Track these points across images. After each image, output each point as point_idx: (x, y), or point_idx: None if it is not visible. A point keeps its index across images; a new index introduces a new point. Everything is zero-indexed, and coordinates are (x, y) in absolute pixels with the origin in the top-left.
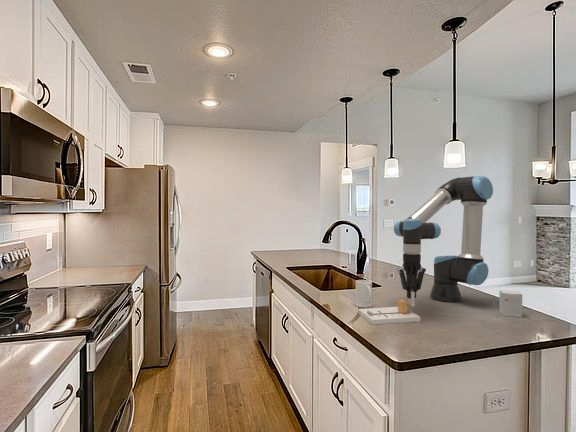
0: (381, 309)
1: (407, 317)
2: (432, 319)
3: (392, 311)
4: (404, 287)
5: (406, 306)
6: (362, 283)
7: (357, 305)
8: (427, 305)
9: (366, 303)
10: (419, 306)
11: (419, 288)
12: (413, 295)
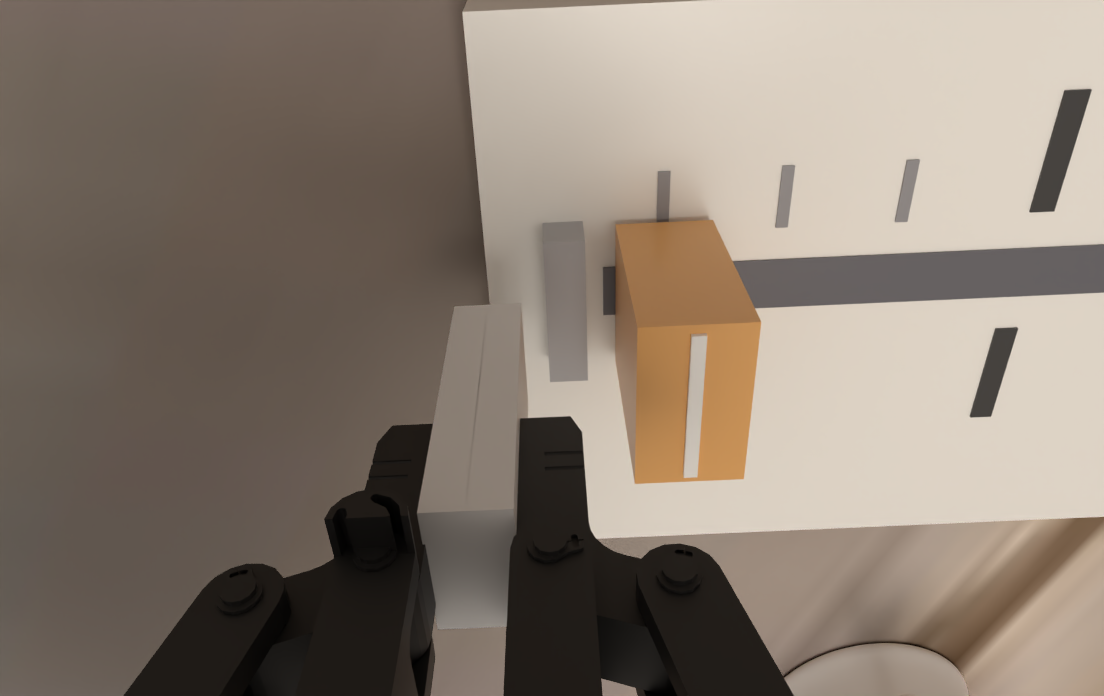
0: (885, 464)
1: (730, 13)
2: (203, 76)
3: (784, 363)
4: (742, 630)
5: (647, 278)
6: None
7: (967, 689)
8: (78, 634)
9: (901, 687)
10: None
11: (237, 587)
12: (460, 443)
